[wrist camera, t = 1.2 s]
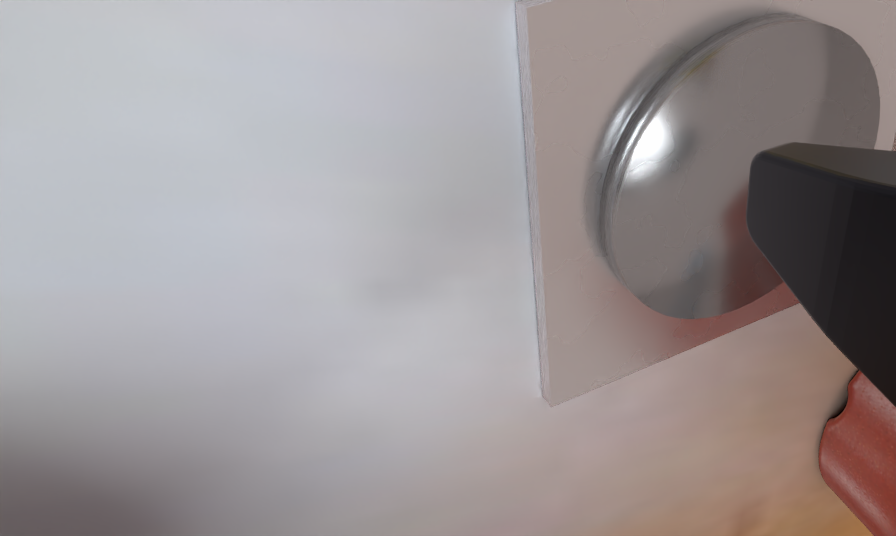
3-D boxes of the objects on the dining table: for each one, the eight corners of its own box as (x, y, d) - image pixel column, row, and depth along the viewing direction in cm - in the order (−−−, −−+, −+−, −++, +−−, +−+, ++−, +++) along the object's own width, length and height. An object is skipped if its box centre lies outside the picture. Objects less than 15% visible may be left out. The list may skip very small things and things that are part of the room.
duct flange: (542, 396, 29) (564, 424, 28) (515, 2, 20) (544, 17, 19) (851, 268, 32) (882, 288, 31) (932, -110, 24) (977, -103, 23)
